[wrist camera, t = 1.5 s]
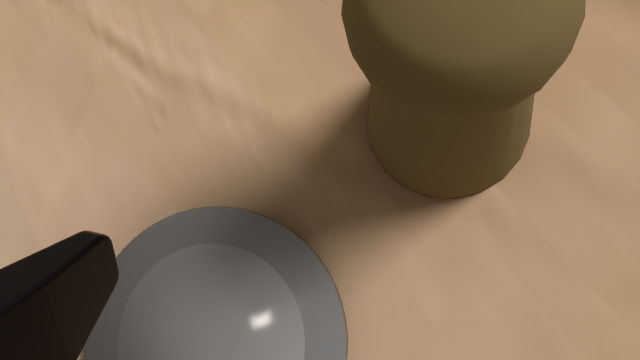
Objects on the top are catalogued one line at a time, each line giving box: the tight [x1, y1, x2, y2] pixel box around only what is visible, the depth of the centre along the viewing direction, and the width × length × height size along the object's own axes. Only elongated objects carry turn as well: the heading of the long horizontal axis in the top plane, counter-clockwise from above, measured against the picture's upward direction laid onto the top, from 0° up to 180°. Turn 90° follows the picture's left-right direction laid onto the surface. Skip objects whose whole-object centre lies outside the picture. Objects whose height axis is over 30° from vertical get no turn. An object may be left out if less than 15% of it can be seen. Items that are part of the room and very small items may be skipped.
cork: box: [341, 0, 585, 199], centre depth 16 cm, size 6×6×11 cm
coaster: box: [85, 207, 348, 360], centre depth 21 cm, size 10×10×1 cm
